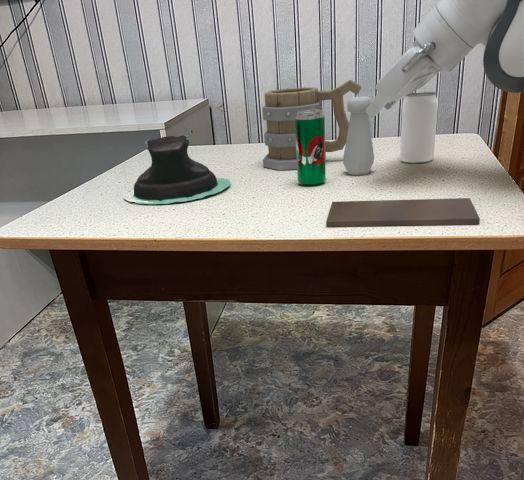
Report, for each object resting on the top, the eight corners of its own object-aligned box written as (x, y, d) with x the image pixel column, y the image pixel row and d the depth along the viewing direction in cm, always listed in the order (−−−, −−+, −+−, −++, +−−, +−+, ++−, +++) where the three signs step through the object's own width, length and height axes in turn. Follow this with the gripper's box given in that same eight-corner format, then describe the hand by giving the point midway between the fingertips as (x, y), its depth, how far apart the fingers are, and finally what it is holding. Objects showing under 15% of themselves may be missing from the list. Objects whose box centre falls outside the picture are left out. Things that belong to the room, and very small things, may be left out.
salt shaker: (336, 174, 101) (335, 98, 95) (356, 168, 104) (357, 94, 98) (360, 177, 97) (361, 99, 91) (380, 171, 100) (382, 95, 94)
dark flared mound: (113, 183, 106) (209, 170, 112) (137, 250, 97) (240, 232, 103) (105, 113, 93) (214, 103, 100) (132, 183, 85) (249, 167, 91)
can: (404, 156, 110) (407, 92, 104) (436, 157, 107) (441, 91, 101) (396, 163, 105) (399, 96, 99) (430, 164, 102) (435, 95, 96)
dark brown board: (469, 203, 79) (469, 197, 78) (479, 224, 70) (480, 218, 70) (332, 206, 83) (332, 201, 82) (326, 227, 74) (326, 221, 74)
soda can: (329, 180, 98) (328, 108, 92) (320, 187, 94) (318, 112, 88) (303, 179, 100) (300, 109, 94) (293, 186, 96) (289, 113, 90)
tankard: (260, 171, 109) (253, 89, 101) (270, 158, 120) (265, 84, 112) (359, 166, 105) (360, 81, 97) (361, 154, 116) (362, 76, 108)
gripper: (439, 62, 77) (371, 134, 86) (464, 53, 93) (404, 115, 102) (410, 28, 77) (345, 104, 86) (440, 25, 92) (382, 90, 101)
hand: (377, 110), depth 94 cm, fingers open, 8 cm apart
